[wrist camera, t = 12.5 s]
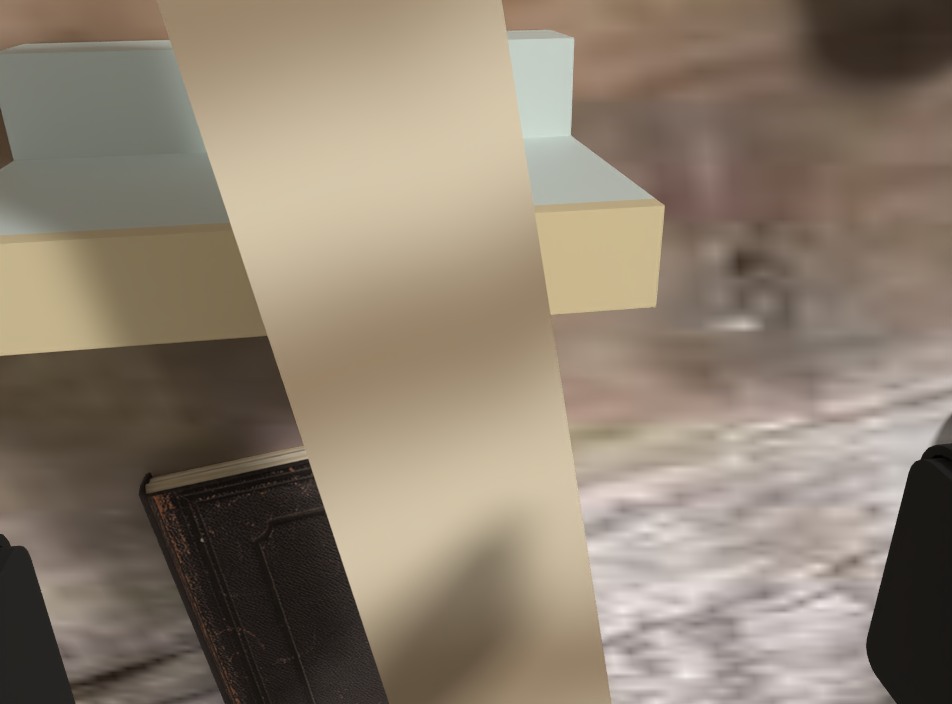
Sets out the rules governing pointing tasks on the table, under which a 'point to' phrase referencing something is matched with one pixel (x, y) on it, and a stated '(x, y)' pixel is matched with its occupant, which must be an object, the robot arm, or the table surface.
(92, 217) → the ridge stand
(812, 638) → the table surface
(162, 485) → the hardcover book
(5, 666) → the robot arm
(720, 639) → the table surface
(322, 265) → the birch bar
